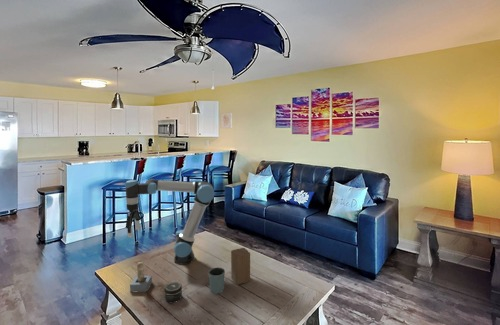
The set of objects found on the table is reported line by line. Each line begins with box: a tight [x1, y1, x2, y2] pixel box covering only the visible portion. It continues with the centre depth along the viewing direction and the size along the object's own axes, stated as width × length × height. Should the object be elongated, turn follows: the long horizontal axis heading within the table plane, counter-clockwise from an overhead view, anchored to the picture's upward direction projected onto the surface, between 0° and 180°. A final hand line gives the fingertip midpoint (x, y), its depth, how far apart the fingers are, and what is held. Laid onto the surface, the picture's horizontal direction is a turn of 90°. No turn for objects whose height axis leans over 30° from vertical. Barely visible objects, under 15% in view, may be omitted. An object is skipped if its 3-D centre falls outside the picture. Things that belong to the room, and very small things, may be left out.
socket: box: [129, 275, 153, 293], centre depth 170 cm, size 10×10×5 cm
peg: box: [136, 261, 145, 283], centre depth 169 cm, size 4×4×16 cm
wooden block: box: [230, 247, 251, 285], centre depth 178 cm, size 10×10×20 cm
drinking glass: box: [208, 267, 226, 294], centre depth 168 cm, size 10×10×12 cm
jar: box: [163, 281, 183, 303], centre depth 159 cm, size 10×10×8 cm
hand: (134, 233), depth 184 cm, fingers open, 13 cm apart
